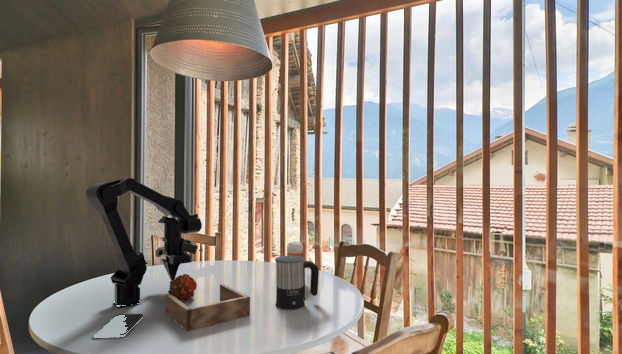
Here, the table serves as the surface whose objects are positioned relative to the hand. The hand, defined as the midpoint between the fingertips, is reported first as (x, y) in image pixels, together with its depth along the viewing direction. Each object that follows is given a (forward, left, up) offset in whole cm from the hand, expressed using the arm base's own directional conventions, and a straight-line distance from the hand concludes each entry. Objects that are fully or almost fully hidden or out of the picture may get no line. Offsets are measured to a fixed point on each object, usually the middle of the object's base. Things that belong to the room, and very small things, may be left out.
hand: (172, 279), depth 135 cm
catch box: (0, -28, -4) cm, 29 cm away
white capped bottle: (+40, -17, -4) cm, 44 cm away
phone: (-22, -23, -5) cm, 32 cm away
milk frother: (+26, -34, -4) cm, 43 cm away
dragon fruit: (0, -9, -4) cm, 10 cm away
